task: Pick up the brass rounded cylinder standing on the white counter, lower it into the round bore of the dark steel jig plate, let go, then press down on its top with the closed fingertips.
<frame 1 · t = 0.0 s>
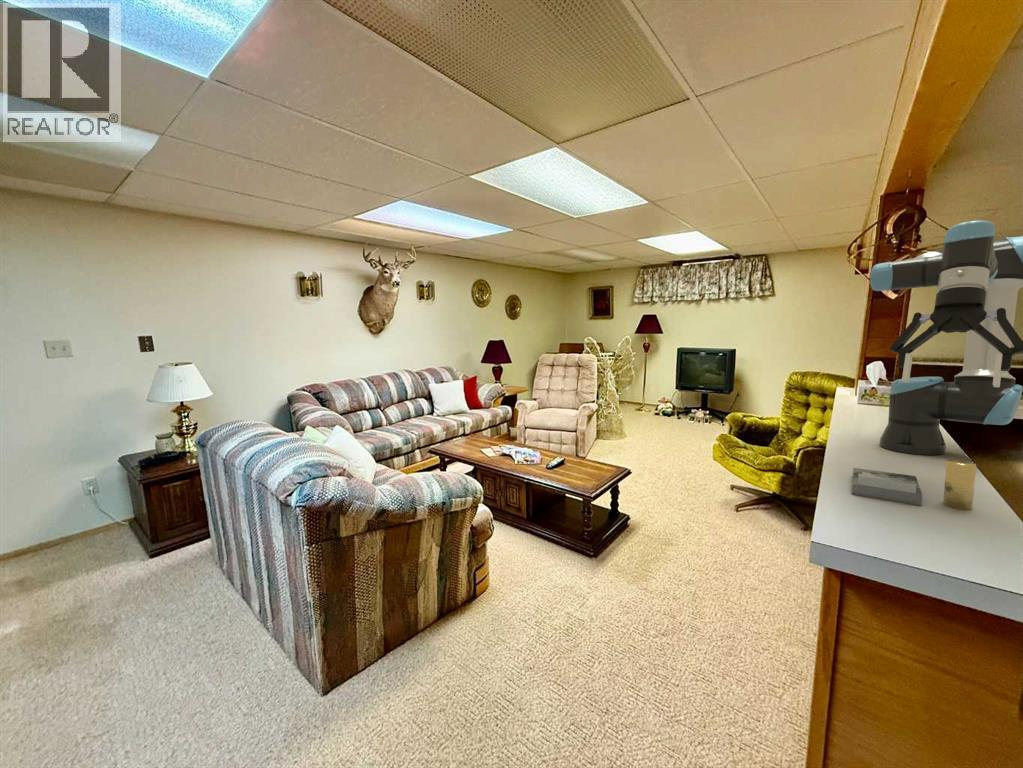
hand: (947, 383, 88), 28 cm above the table, tool tilted 20°, fingers open, 13 cm apart
brass rounded cylinder: (957, 505, 90), on the table
jig: (884, 489, 100), on the table
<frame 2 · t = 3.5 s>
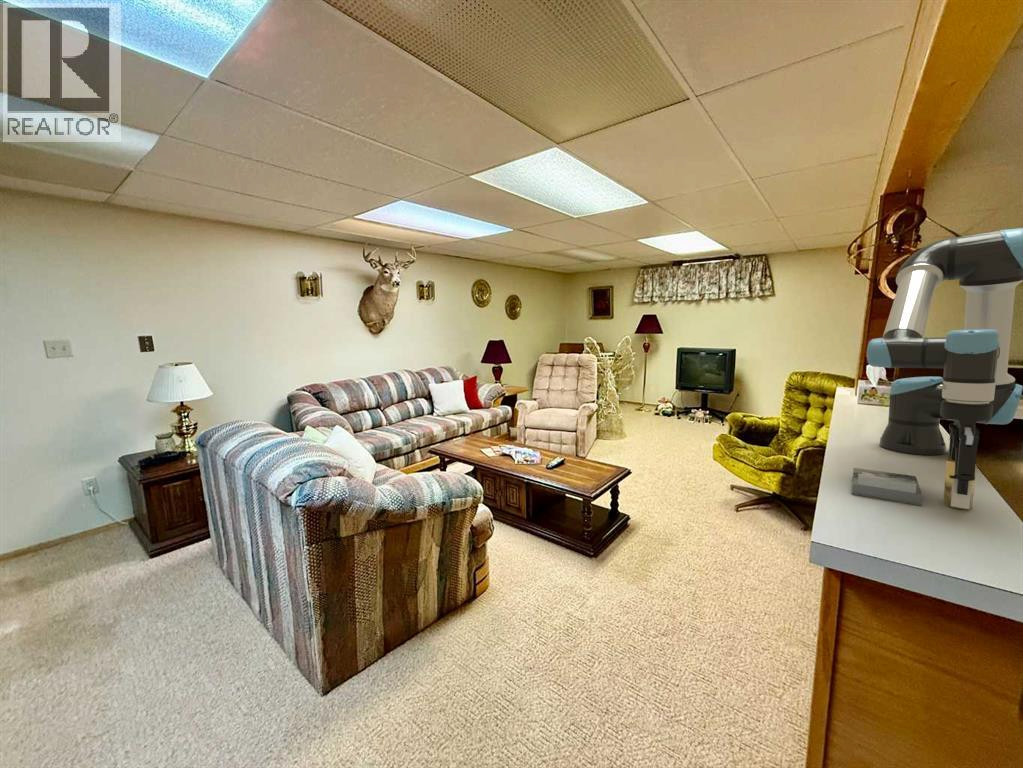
hand: (957, 502, 90), 1 cm above the table, tool pointing down, fingers closed on brass rounded cylinder, 4 cm apart
brass rounded cylinder: (957, 505, 90), on the table, touching gripper
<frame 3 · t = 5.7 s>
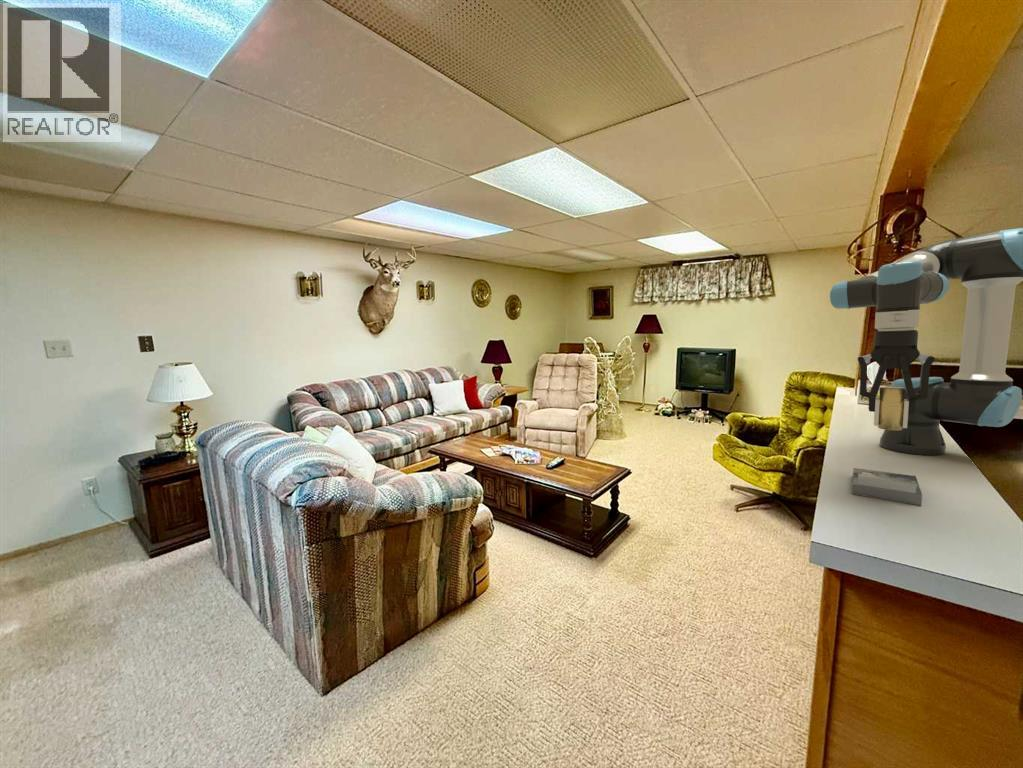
hand: (889, 425, 98), 17 cm above the table, tool pointing down, fingers closed on brass rounded cylinder, 4 cm apart
brass rounded cylinder: (889, 428, 98), point 16 cm above the table, touching gripper
when the fingers open (3 cm above the table, at t = 7.9 s): brass rounded cylinder drops 3 cm, resting in jig.
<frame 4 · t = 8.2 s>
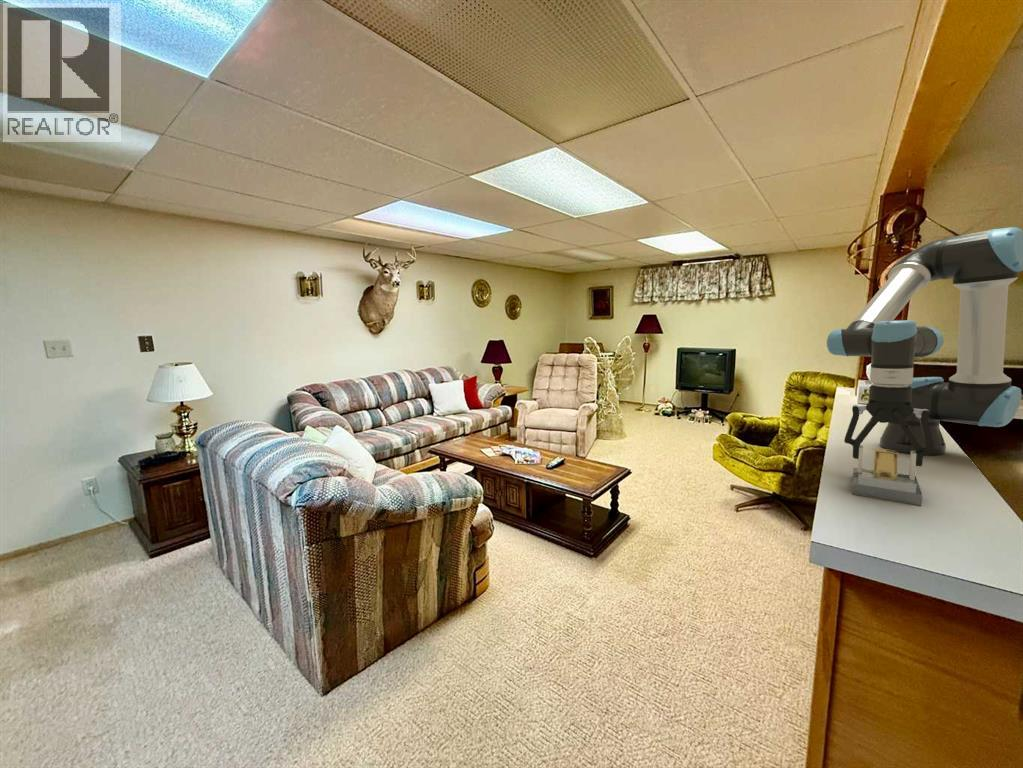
hand: (884, 474, 99), 4 cm above the table, tool pointing down, fingers open, 9 cm apart
brass rounded cylinder: (884, 490, 100), resting in jig
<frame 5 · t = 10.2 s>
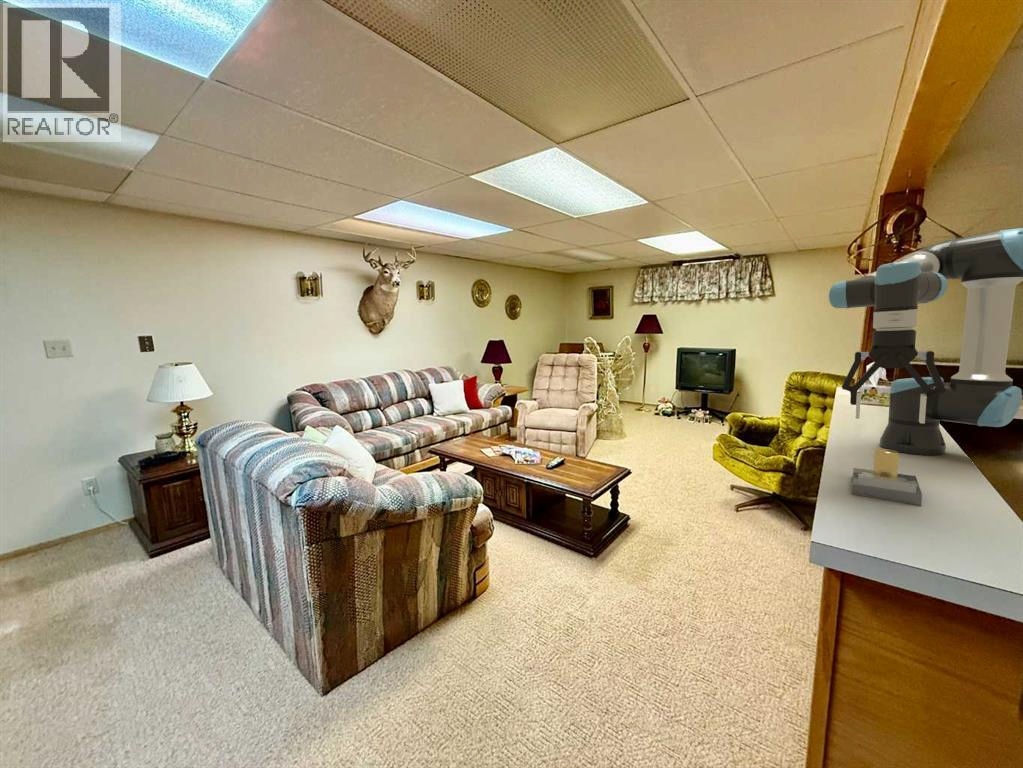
hand: (888, 419, 98), 18 cm above the table, tool pointing down, fingers open, 11 cm apart
nothing on the table moved.
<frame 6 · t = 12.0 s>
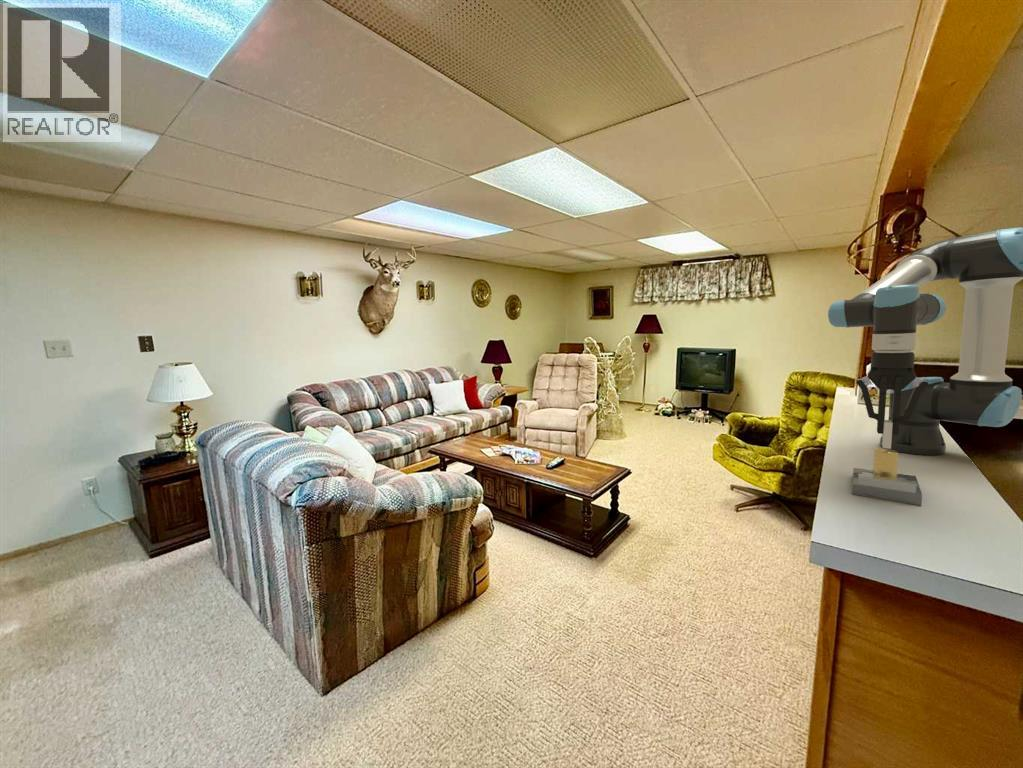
hand: (886, 446, 99), 11 cm above the table, tool pointing down, fingers closed
nothing on the table moved.
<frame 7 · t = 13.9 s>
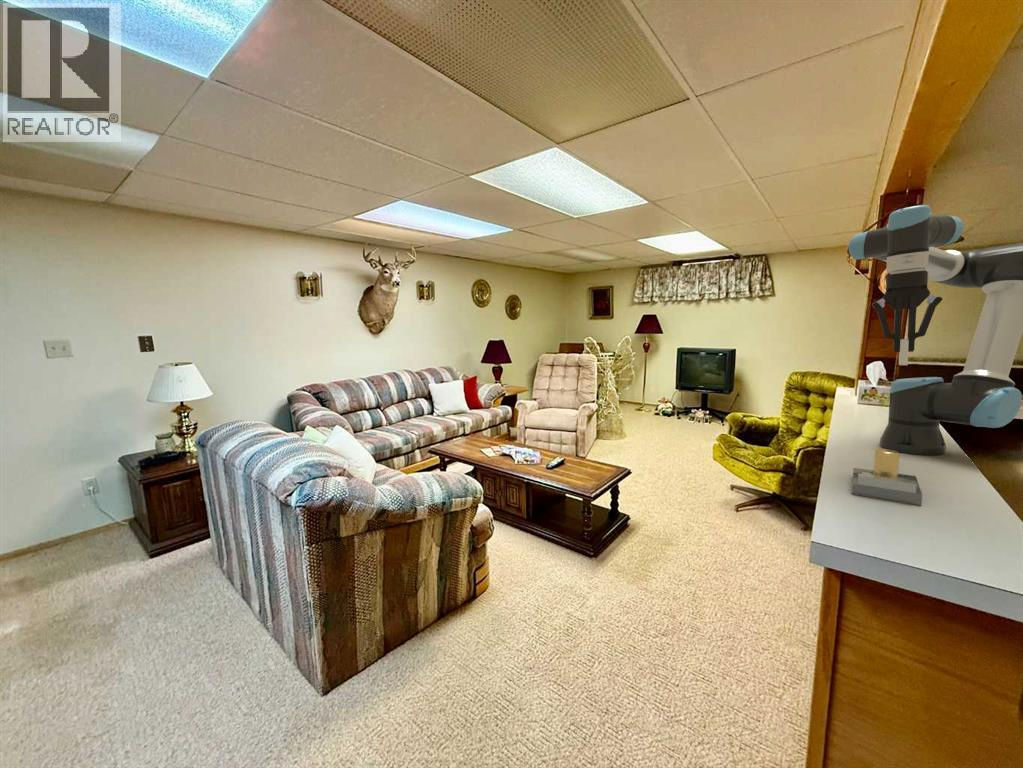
hand: (903, 364, 104), 30 cm above the table, tool pointing down, fingers closed
nothing on the table moved.
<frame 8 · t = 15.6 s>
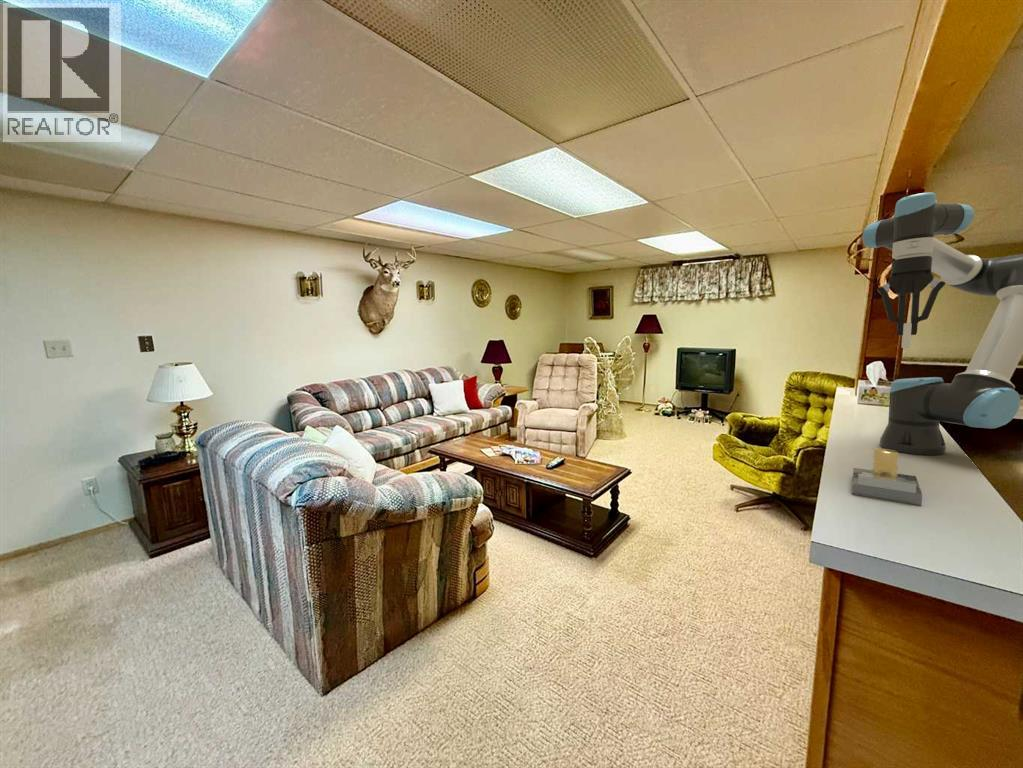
hand: (905, 347, 108), 34 cm above the table, tool pointing down, fingers closed
nothing on the table moved.
at the end: brass rounded cylinder 0.0 cm off-centre on the jig, point 0.0 cm above the jig's base; brass rounded cylinder tilted 1°; the gripper is holding nothing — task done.
